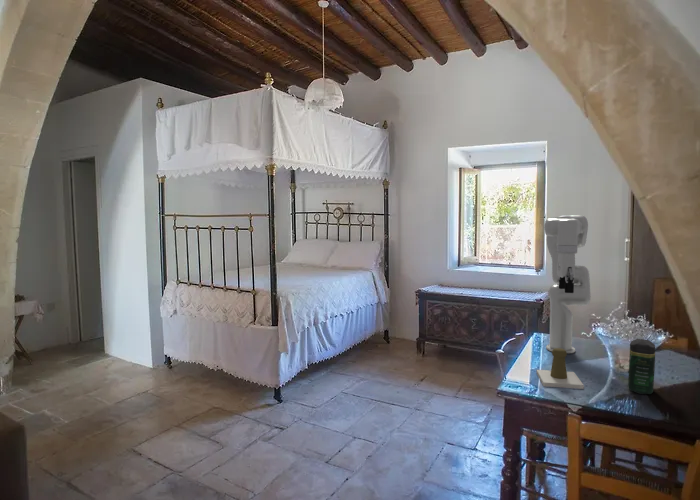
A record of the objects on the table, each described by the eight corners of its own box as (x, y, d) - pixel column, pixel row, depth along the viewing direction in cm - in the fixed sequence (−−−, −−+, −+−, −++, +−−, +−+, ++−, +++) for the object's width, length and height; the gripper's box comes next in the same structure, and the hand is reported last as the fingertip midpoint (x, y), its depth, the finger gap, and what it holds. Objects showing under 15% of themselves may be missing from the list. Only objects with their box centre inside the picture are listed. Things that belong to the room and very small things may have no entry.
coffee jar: (653, 397, 156) (656, 345, 155) (627, 392, 161) (629, 342, 159) (653, 388, 164) (655, 339, 163) (628, 383, 169) (630, 336, 167)
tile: (536, 373, 181) (536, 369, 181) (573, 375, 178) (573, 371, 178) (543, 386, 167) (543, 382, 167) (583, 389, 164) (583, 385, 164)
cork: (569, 379, 170) (569, 351, 169) (552, 378, 171) (552, 350, 170) (565, 374, 175) (565, 346, 175) (548, 372, 177) (549, 346, 176)
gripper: (552, 247, 190) (551, 287, 192) (562, 251, 173) (561, 294, 175) (571, 248, 189) (570, 287, 190) (583, 251, 172) (581, 294, 173)
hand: (566, 290), depth 182 cm, fingers open, 9 cm apart
